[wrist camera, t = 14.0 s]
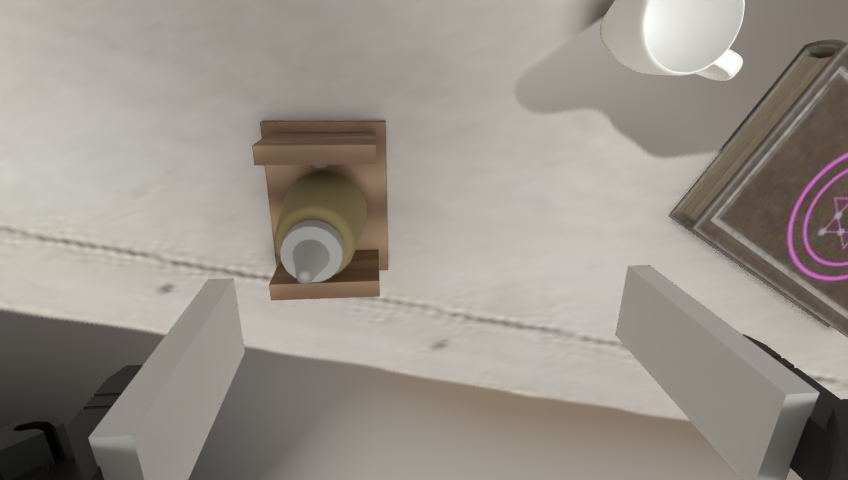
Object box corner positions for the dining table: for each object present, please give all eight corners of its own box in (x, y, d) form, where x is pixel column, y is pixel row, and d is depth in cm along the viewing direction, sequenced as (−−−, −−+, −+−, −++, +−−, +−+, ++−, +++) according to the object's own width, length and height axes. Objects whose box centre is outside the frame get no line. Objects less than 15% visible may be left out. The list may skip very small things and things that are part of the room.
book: (666, 214, 55) (693, 228, 50) (807, 40, 49) (853, 37, 44) (824, 324, 63) (860, 345, 58) (961, 186, 57) (1013, 197, 52)
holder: (262, 121, 46) (238, 134, 37) (385, 120, 47) (387, 134, 39) (279, 268, 52) (260, 309, 43) (387, 265, 53) (390, 304, 44)
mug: (563, 42, 46) (620, 36, 35) (616, -40, 44) (693, -71, 33) (650, 107, 49) (725, 120, 39) (703, 35, 47) (799, 28, 36)
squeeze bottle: (321, 251, 50) (295, 347, 33) (272, 191, 47) (216, 263, 31) (383, 210, 49) (387, 288, 32) (336, 146, 46) (315, 196, 30)
